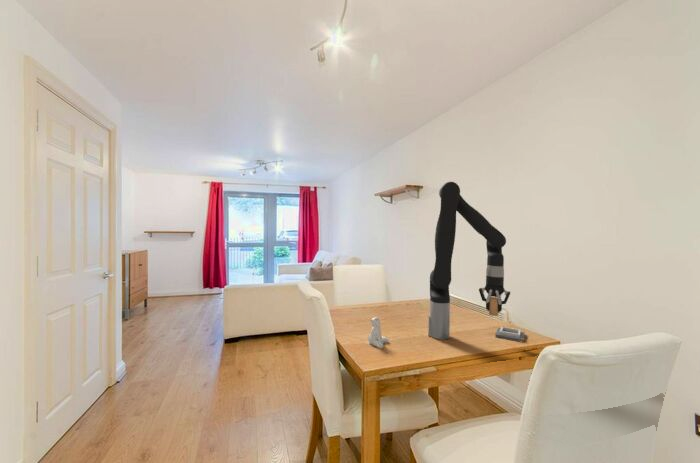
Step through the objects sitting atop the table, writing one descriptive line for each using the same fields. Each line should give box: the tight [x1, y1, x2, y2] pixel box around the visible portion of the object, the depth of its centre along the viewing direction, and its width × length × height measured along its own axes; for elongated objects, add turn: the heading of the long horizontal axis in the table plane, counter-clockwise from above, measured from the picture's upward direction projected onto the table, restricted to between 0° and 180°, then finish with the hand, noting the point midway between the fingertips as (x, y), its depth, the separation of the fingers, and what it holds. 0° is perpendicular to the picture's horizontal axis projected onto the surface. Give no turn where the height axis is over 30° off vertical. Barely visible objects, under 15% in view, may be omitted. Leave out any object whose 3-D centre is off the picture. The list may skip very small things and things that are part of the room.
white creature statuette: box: [367, 316, 389, 349], centre depth 134 cm, size 10×9×12 cm
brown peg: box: [488, 296, 499, 317], centre depth 139 cm, size 4×4×8 cm
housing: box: [495, 326, 526, 343], centre depth 146 cm, size 12×12×3 cm
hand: (493, 311), depth 139 cm, fingers closed on brown peg, 4 cm apart
